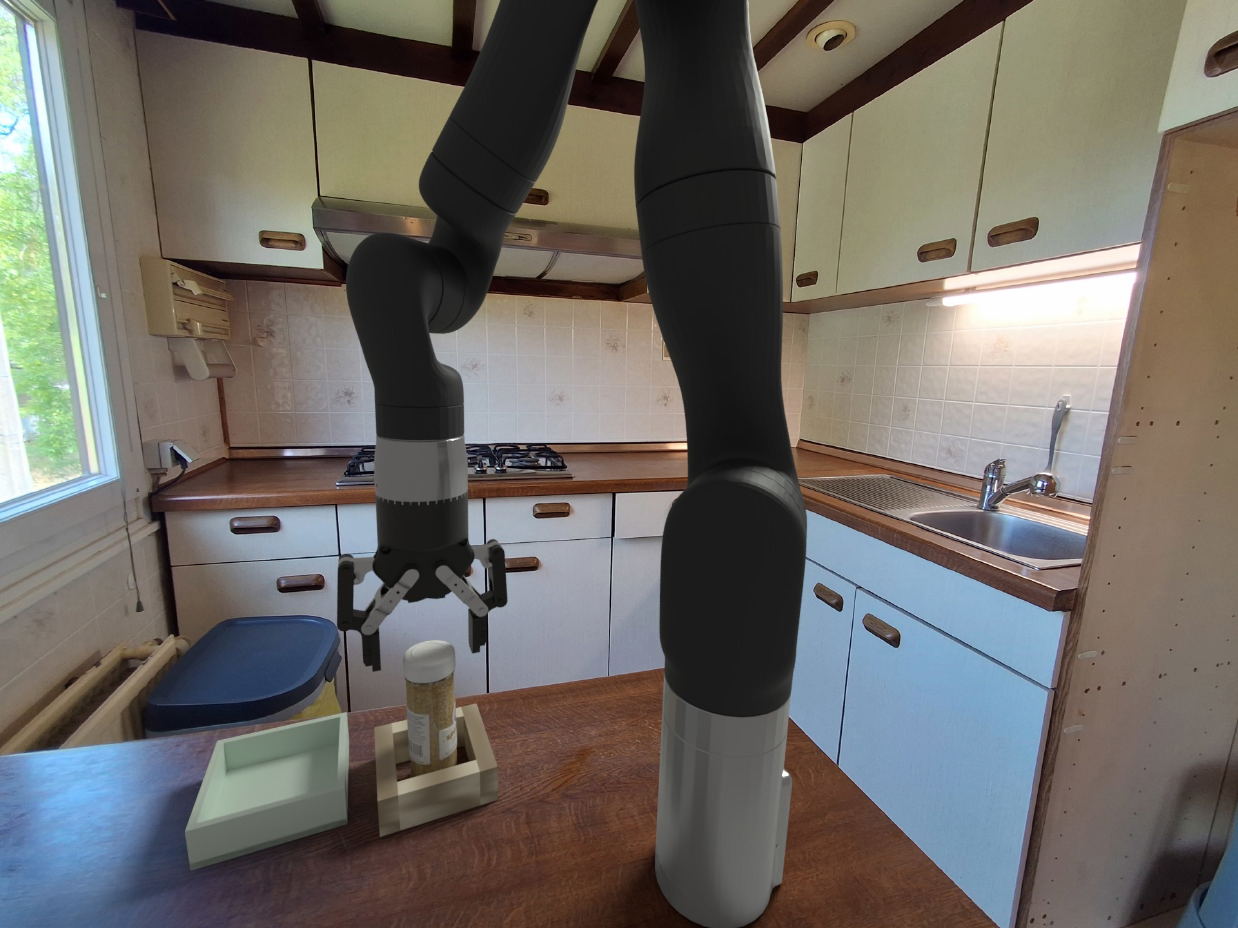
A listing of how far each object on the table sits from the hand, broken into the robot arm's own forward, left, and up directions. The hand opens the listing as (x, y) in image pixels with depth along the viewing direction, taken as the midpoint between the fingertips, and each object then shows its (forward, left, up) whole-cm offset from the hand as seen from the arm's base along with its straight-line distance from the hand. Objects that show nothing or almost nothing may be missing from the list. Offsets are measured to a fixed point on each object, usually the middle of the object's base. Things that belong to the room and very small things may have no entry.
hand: (427, 657), depth 50 cm
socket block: (0, 0, -13) cm, 13 cm away
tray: (+13, -3, -13) cm, 18 cm away
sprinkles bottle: (0, 0, -13) cm, 13 cm away
